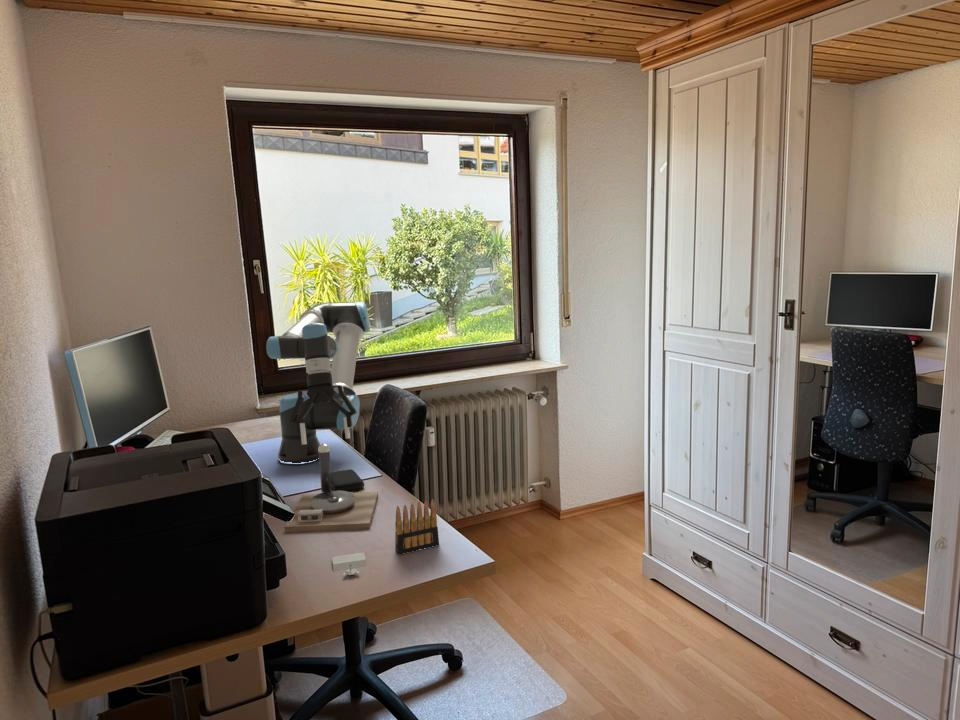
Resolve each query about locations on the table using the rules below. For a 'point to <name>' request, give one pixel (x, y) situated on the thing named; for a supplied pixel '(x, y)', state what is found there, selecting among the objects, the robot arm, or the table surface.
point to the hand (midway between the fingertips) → (326, 441)
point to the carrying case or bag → (346, 481)
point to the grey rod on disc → (330, 489)
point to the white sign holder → (349, 563)
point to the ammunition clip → (416, 529)
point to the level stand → (334, 515)
